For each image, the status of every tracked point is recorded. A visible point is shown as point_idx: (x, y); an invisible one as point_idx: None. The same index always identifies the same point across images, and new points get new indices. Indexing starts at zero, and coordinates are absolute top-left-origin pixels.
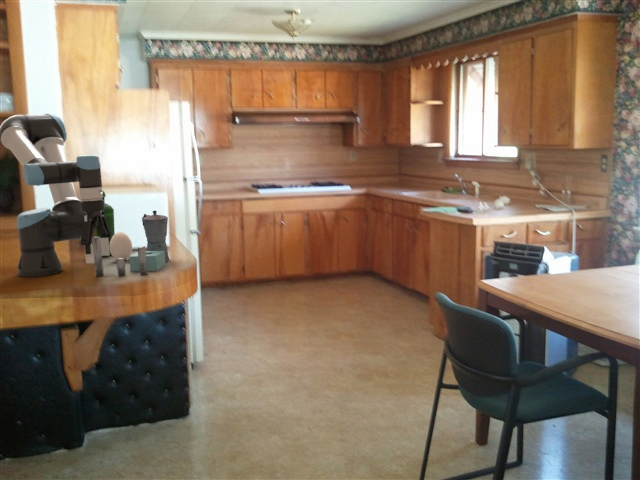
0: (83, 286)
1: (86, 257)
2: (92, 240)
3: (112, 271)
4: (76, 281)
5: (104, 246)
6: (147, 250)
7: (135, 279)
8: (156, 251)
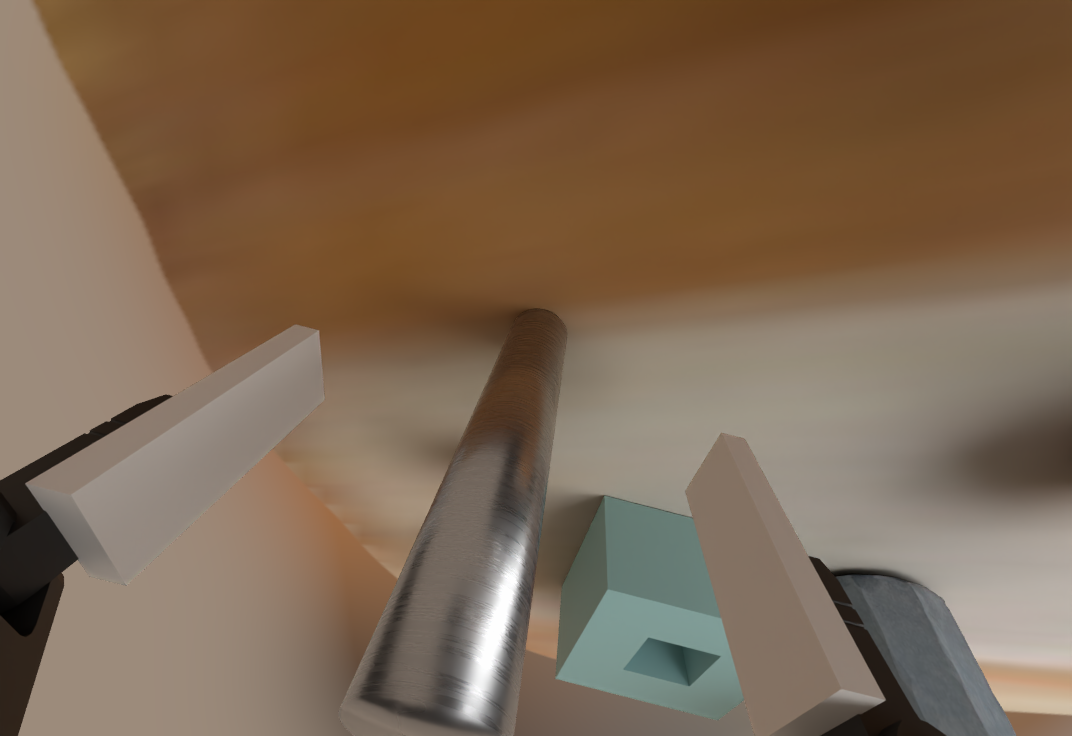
0: (219, 266)
1: (244, 366)
2: (414, 612)
3: (664, 403)
4: (374, 172)
5: (738, 558)
6: (890, 667)
7: (386, 509)
8: (714, 697)
